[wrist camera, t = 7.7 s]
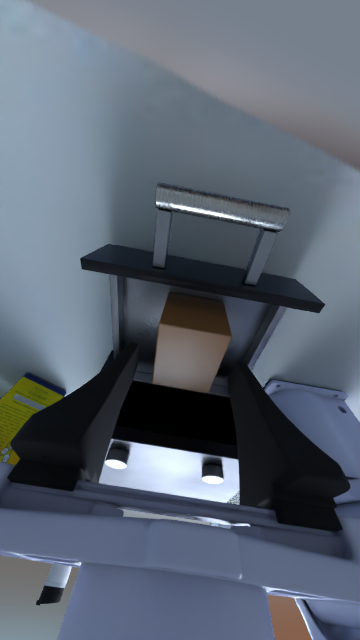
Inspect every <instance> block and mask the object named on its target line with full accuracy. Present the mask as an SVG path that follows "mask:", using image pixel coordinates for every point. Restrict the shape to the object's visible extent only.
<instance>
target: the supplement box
mask: <svg viewBox="0 0 360 640" xmlns="http://www.w3.org/2000/svg"><path fill="white" fill-rule="evenodd" d="M65 394H66V391H65V390H63V389H61V388H59V387H56V386H54V385H52V384H51V383H49V382H47V381H44V380H42V379H40V378H38V377H36V376H34V375H32V374H30V373H26V374H25V375H24V376H23V377H22V378H21V379H20V380H19V381H18V382H17V383H16V384H15V385H14V386H13V387H12V388H11V389H10V390H9V391H8V392H7V393H6V394H5V395H4V396H3V397H2V398H1V400H0V462H4V463H9V464H12V465H14V466H15V465H16V464H17V462H18V461H19V460H20V458H19V457H18V456H17V454H16V453H15V452H14V451H13V449H12V448H11V446H10V442H11V440H12V439H13V438H14V436H15V435H16V434H17V432H18V431H19V430H20V429H21V427H22V426H23V425H24V424H25V422H26V421H27V420H28V419H29V418H30V417H31V416H32V415H33V414H34V413H36V412H38V411H40V410H42V409H44V408H46V407H48V406H50V405H52V404H54V403H55V402H57V401H59V400H61V399H62V398H63V397H64V395H65Z"/></svg>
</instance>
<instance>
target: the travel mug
mask: <svg viewBox="0 0 360 640" xmlns="http://www.w3.org/2000/svg"><path fill="white" fill-rule="evenodd" d="M71 568H72V566H66V565H60V564H53V565H52V567H51V570H50V572H49V575H48V577H47V580H46V583H45V585H44V588H43V591H42V593H41V596H40V598H39V600H37V602H36V605H40V604H48V603H57V602H59V601H60V599H61V597H62V593H63V590H64V588H65V584H66V582H67V579H68V577H69V574H70V571H71Z"/></svg>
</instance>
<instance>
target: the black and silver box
mask: <svg viewBox="0 0 360 640" xmlns="http://www.w3.org/2000/svg"><path fill="white" fill-rule="evenodd" d="M113 360H114V350H112V351H111V353H110V355H109V357H108V359H107V360H106V362H105V364H104V366H103V367H102V369H101V371H102V370H103V369H104V368H106V367H107V366H108V365H109V364H110V363H111V362H112V361H113ZM101 371H100V372H101ZM99 483H101V484H107V485H114V486H120V487H127V488H133V489H140V490H146V491H152V492H159V493H165V494H172V495H178V496H185V497H191V498H198V499H204V500H210V501H217V502H223V503H226V502H227V501H228V500H230V499H231V498H232V497H233V496H234V495H235V494H237V493H238V492H239V463H238V448H237V436H236V427H235V421H234V416H233V411H232V405H231V400H228V399H222V398H216V397H210V396H204V395H199V394H193V393H187V392H181V391H175V390H170V389H164V388H158V387H152V386H146V385H141V384H135V383H131V385H130V388H129V390H128V392H127V395H126V397H125V400H124V402H123V404H122V407H121V409H120V412H119V415H118V418H117V422H116V425H115V428H114V431H113V434H112V438H111V441H110V444H109V448H108V451H107V454H106V458H105V461H104V465H103V468H102V472H101V476H100V479H99Z"/></svg>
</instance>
